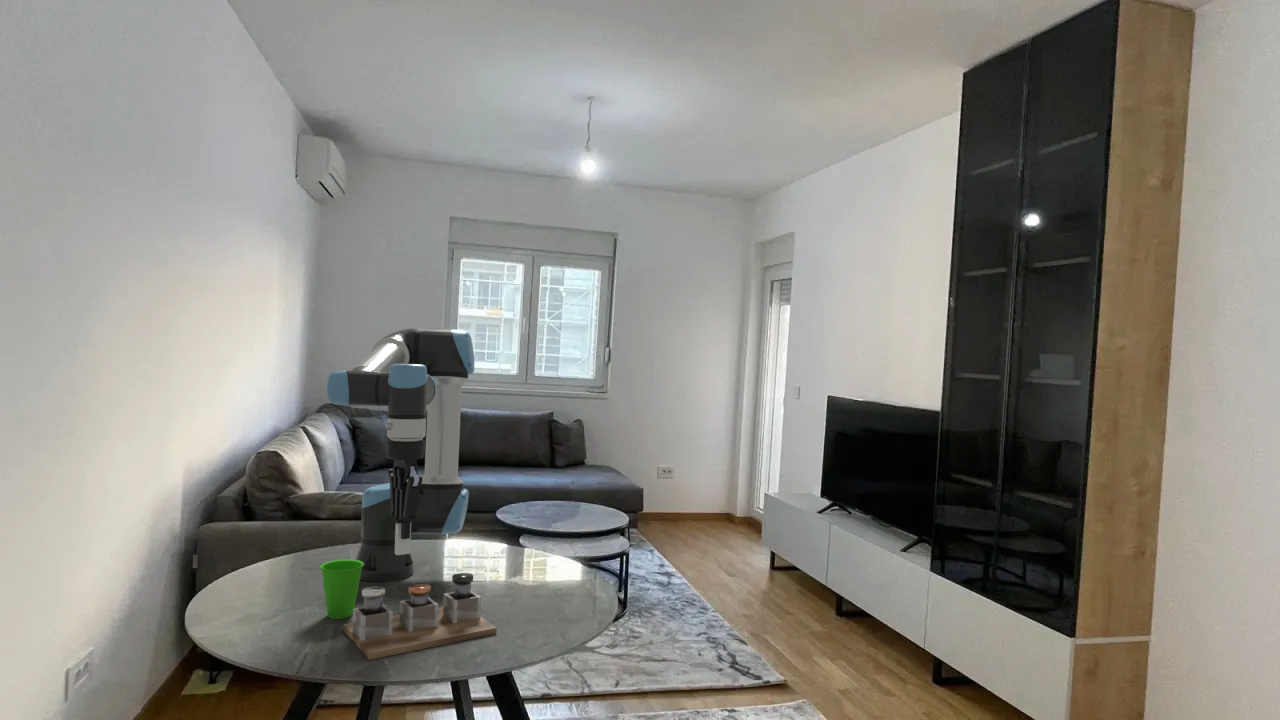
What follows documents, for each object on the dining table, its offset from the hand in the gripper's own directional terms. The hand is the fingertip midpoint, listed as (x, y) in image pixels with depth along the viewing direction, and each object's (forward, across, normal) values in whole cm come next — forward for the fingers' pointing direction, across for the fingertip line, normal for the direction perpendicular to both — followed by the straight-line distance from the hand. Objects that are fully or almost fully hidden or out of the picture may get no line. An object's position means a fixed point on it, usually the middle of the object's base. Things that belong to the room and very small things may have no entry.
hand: (402, 553), depth 155 cm
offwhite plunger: (+12, 0, -6) cm, 13 cm away
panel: (+17, +1, +4) cm, 17 cm away
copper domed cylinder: (+13, 0, +4) cm, 13 cm away
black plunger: (+12, 0, +13) cm, 18 cm away
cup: (+17, -18, -6) cm, 26 cm away
